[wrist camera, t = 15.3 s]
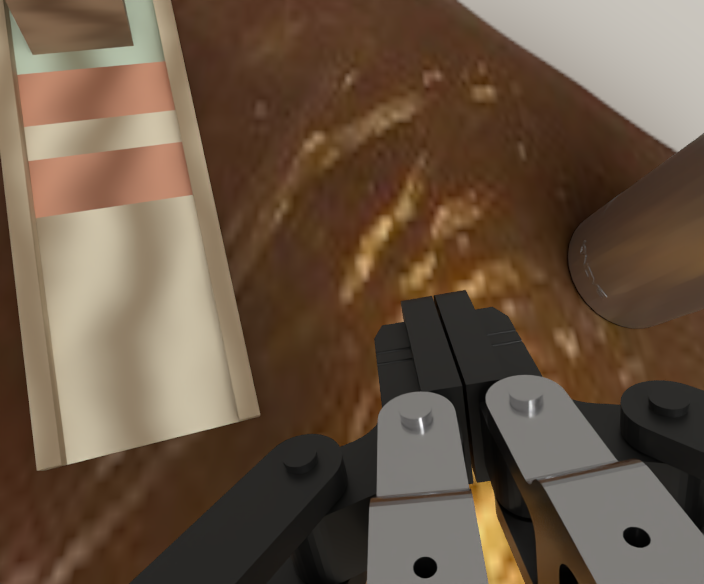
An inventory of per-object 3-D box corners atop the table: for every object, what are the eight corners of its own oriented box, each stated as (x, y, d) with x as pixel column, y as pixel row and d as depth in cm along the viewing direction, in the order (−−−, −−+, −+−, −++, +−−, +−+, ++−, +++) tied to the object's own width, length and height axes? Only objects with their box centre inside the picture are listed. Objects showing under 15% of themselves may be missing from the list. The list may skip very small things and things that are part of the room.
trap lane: (147, -106, 44) (140, -145, 41) (259, 416, 34) (261, 411, 31) (-24, -102, 41) (-44, -145, 38) (44, 470, 31) (24, 470, 28)
